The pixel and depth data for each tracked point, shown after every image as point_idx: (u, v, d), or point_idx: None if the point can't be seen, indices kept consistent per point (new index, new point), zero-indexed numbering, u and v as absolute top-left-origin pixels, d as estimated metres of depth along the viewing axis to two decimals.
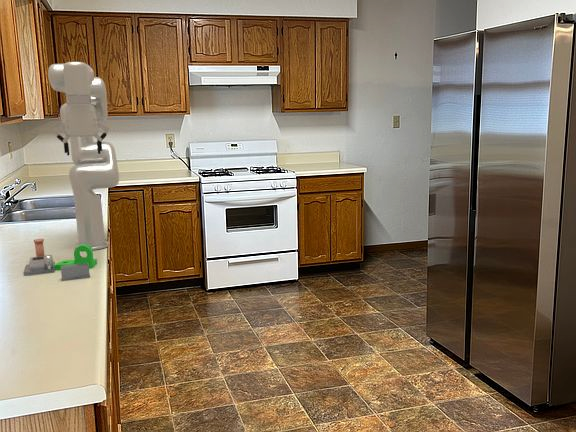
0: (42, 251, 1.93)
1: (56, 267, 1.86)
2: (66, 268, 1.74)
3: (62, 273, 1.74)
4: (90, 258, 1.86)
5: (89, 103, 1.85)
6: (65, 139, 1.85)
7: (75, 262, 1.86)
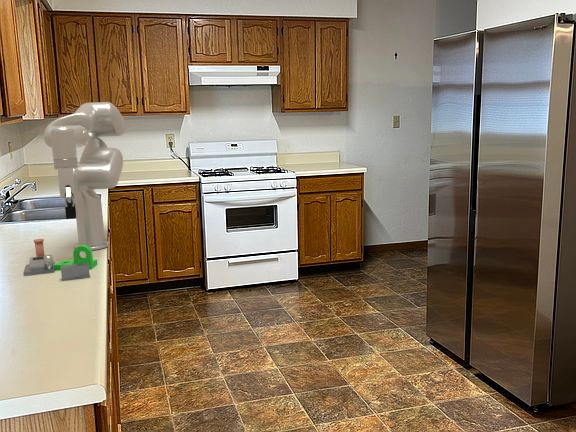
0: (42, 251, 1.93)
1: (56, 267, 1.86)
2: (66, 268, 1.74)
3: (62, 273, 1.74)
4: (89, 259, 1.85)
5: None
6: (73, 202, 1.91)
7: (74, 262, 1.86)
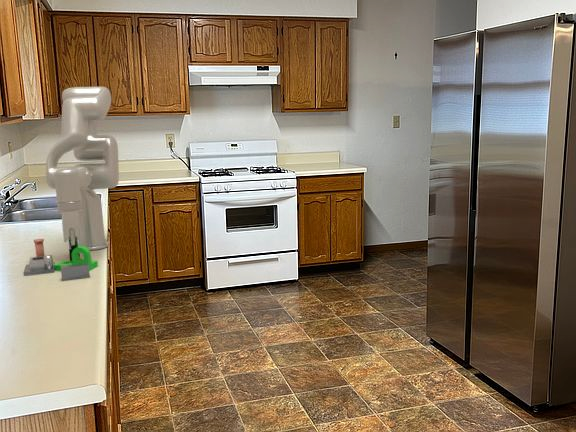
0: (42, 251, 1.93)
1: (56, 267, 1.86)
2: (66, 268, 1.74)
3: (62, 273, 1.74)
4: (86, 260, 1.83)
5: None
6: (77, 245, 1.91)
7: (73, 263, 1.84)
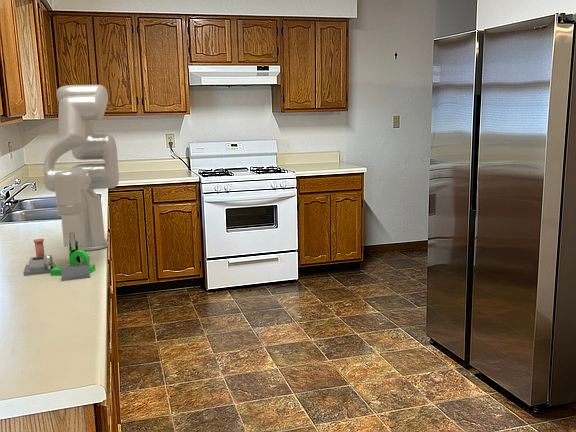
0: (42, 251, 1.93)
1: (52, 272, 1.80)
2: (66, 268, 1.74)
3: (62, 273, 1.74)
4: None
5: None
6: (78, 249, 1.85)
7: None
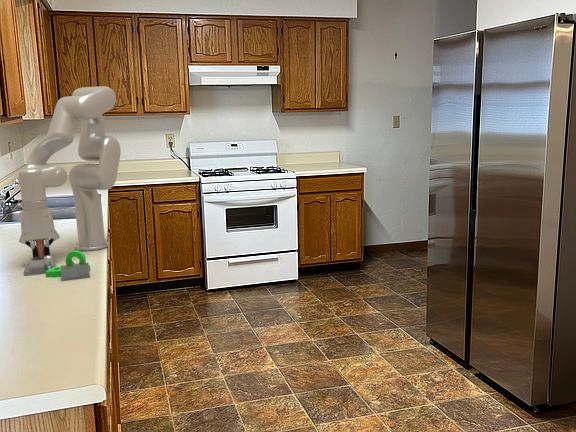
0: (43, 250, 1.93)
1: (47, 274, 1.78)
2: (66, 268, 1.74)
3: (62, 273, 1.74)
4: None
5: None
6: None
7: None
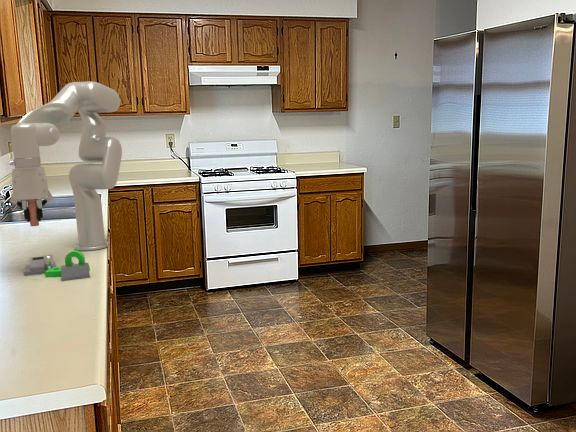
0: (35, 211, 1.83)
1: (46, 274, 1.78)
2: (66, 268, 1.74)
3: (62, 273, 1.74)
4: None
5: None
6: None
7: None
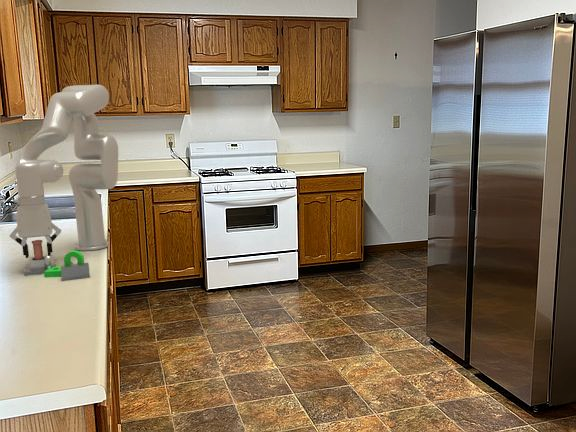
0: (40, 253, 1.85)
1: (46, 274, 1.78)
2: (66, 268, 1.74)
3: (62, 273, 1.74)
4: None
5: None
6: None
7: None
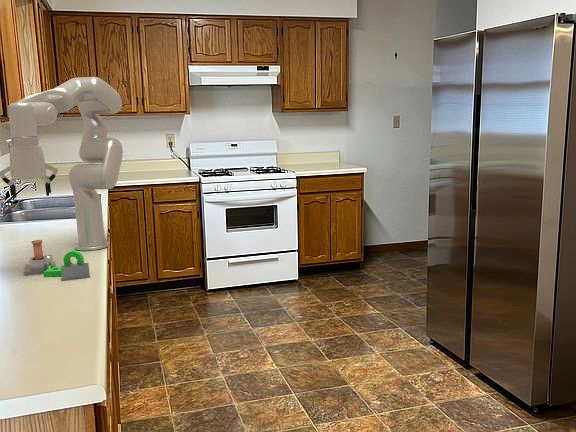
0: (40, 253, 1.85)
1: (45, 274, 1.78)
2: (66, 268, 1.74)
3: (62, 273, 1.74)
4: None
5: None
6: None
7: None
